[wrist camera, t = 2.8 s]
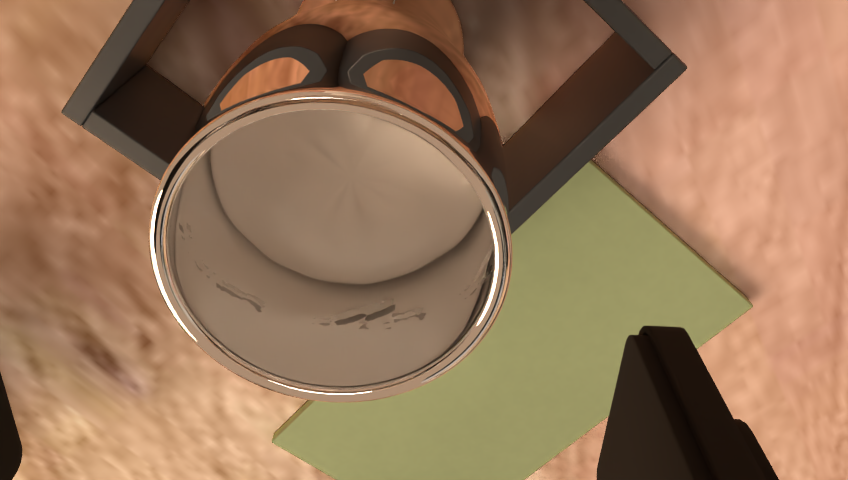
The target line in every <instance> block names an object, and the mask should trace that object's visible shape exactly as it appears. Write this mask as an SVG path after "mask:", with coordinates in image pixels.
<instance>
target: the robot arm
mask: <svg viewBox="0 0 848 480" xmlns="http://www.w3.org/2000/svg"><path fill="white" fill-rule="evenodd" d="M21 458H22V445H21V441H20V438H19V434H18V431H17V428H16V424H15V421H14V417H13V414H12V410H11V407H10V404H9V400H8V397H7V393H6V390H5V386H4V383H3V380H2V376H1V373H0V480H12V479H13V477H14V476H15V474H16V472H17V470H18V468H19V466H20V463H21ZM597 480H779V479H778V477H777V475H776V474H775V472H774V470H773V468H772V466H771V465H770V463H769V461H768V459H767V457H766V456H765V454H764V452H763V450H762V448H761V446H760V445H759V443H758V441H757V439H756V437H755V436H754V434H753V432H752V431H751V429H750V428H749V427H748V425H747V424H746V423H745V422H743V421H741V420H740V419H733V417H732V415H731V413H730V411H729V409H728V407H727V406H726V404H725V402H724V400H723V398H722V396H721V394H720V392H719V391H718V389H717V387H716V385H715V383H714V381H713V379H712V377H711V376H710V374H709V372H708V370H707V368H706V366H705V364H704V362H703V361H702V359H701V357H700V355H699V353H698V351H697V349H696V348H695V346H694V344H693V342H692V340H691V338H690V336H689V334H688V333H687V331H686V330H685V329H684V328H682V327H669V326H643V327H642V328H641V329H640V331H639V334H638V335H629V336H628V338H627V340H626V343H625V347H624V351H623V356H622V360H621V365H620V369H619V373H618V378H617V382H616V387H615V391H614V396H613V400H612V404H611V409H610V413H609V418H608V422H607V427H606V431H605V436H604V440H603V444H602V449H601V453H600V458H599V462H598V467H597Z"/></svg>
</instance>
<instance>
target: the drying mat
mask: <svg viewBox="0 0 848 480" xmlns="http://www.w3.org/2000/svg"><path fill="white" fill-rule="evenodd" d="M511 238H512V249H513V262H512V273H511V279H510V284H509V288H508V292H507V296H506V299H505V301H504V304H503V307H502V309H501V311H500V313H499V315H498V317H497V319H496V321H495V323H494V325H493V326H492V328H491V329H490V331H489V332H488V334H487V335H486V336H485V338H484V339H483V340H482V341H481V343H480V344H479V345H478V346H477V347H476V348H475V349H474V350H473V352H471V353H470V354H469V355H468V356H467V357H466V358H465V359H464V360H463V361H462V362H460V363H459V364H458V365H457V366H455V367H454V368H452V369H451V370H450V371H448V372H447V373H445V374H444V375H442V376H440V377H439V378H437V379H435V380H433V381H431V382H429V383H427V384H425V385H423V386H421V387H418V388H416V389H413V390H411V391H408V392H405V393H402V394H399V395H395V396H391V397H387V398H382V399H377V400H371V401H363V402H321V401H313V400H308V401H307V402H306V403H305V404H304V405H303V406H302V407H301V408H300V409H299V410H298V411H297V412H296V413H295V414H294V415H293V416H292V417H291V418H290V419H289V420H288V421H287V422H285V423H284V424H283V425H282V426H281V427H280V428H279V429H278V430H277V431H276V432H275V433H274V435H273V439H272V443H274V444H276V445H277V446H279V447H281V448H282V449H284V450H286V451H288V452H289V453H291V454H293V455H294V456H296V457H298V458H300V459H301V460H303V461H305V462H306V463H308V464H310V465H312V466H313V467H315V468H317V469H319V470H320V471H322V472H324V473H325V474H327V475H329V476H331V477H332V478H334V479H336V480H525V479H526V478H527V477H528V476H530V475H531V474H532V473H534V472H535V471H536V470H538V469H539V468H540V467H542V466H543V465H544V464H546V463H547V462H548V461H550V460H551V459H552V458H554V457H555V456H556V455H558V454H559V453H560V452H562V451H563V450H564V449H566V448H567V447H568V446H569V445H571V444H572V443H573V442H575V441H576V440H577V439H579V438H580V437H581V436H583V435H584V434H585V433H587V432H588V431H589V430H591V429H592V428H593V427H595V426H596V425H597V424H599V423H600V422H601V421H603V420H604V419H605V418H607V417H608V416H609V413H610V409H611V404H612V400H613V396H614V391H615V387H616V382H617V378H618V373H619V369H620V365H621V360H622V356H623V351H624V347H625V343H626V340H627V338H628V336H629V335H638V334H639V331H640V329H641V328H642V327H643V326H669V327H682V328H684V329H685V330H686V331H687V333H688V334H689V336H690V338H691V340H692V342H693V344H694V346H695V348H696V349H698V348H699V347H700V346H702V345H703V344H704V343H706V342H707V341H708V340H710V339H711V338H712V337H714V336H715V335H716V334H718V333H719V332H720V331H722V330H723V329H724V328H726V327H727V326H728V325H729V324H731V323H732V322H733V321H735V320H736V319H737V318H739V317H740V316H741V315H743V314H744V313H745V312H747V311H748V310H749V309H751V308H752V307H753V305H752V304H751V302H750V301H749V299H748V298H747V297H746V296H744V295H743V294H742V293H741V292H740V291H739V290H738V289H737V288H735V287H734V286H733V285H732V284H731V283H730V282H729V281H727V280H726V279H725V278H724V277H723V276H722V275H721V274H720V273H718V272H717V271H716V270H715V269H714V268H713V267H712V266H711V265H709V264H708V263H707V262H706V261H705V260H704V259H703V258H701V257H700V256H699V255H698V254H697V253H696V252H695V251H694V250H692V249H691V248H690V247H689V246H688V245H687V244H686V243H685V242H683V241H682V240H681V239H680V238H679V237H678V236H677V235H675V234H674V233H673V232H672V231H671V230H670V229H669V228H668V227H666V226H665V225H664V224H663V223H662V222H661V221H660V220H659V219H657V218H656V217H655V216H654V215H653V214H652V213H651V212H649V211H648V210H647V209H646V208H645V207H644V206H643V205H642V204H640V203H639V202H638V201H637V200H636V199H635V198H634V197H633V196H631V195H630V194H629V193H628V192H627V191H626V190H625V189H623V188H622V187H621V186H620V185H619V184H618V183H617V182H616V181H614V180H613V179H612V178H611V177H610V176H609V175H608V174H607V173H605V172H604V171H603V170H602V169H601V168H600V167H599V166H597V165H596V164H595V163H594V162H593V161H592V160H590V161H589V162H588V163H587V164H586V165H585V166H584V167H583V168H582V169H580V170H579V171H578V172H577V173H576V174H575V175H574V176H573V177H572V178H571V179H570V180H569V181H568V182H567V183H566V184H565V185H564V186H562V187H561V188H560V189H559V190H558V191H557V192H556V193H555V194H554V195H553V196H552V197H551V198H550V199H549V200H548V201H547V202H546V203H544V204H543V205H542V206H541V207H540V208H539V209H538V210H537V211H536V212H535V213H534V214H533V215H532V216H531V217H530V218H529V219H528V220H526V221H525V222H524V223H523V224H522V225H521V226H520V227H519V228H518V229H517V230H516V231H515V232H514V233H513V234H512V235H511Z"/></svg>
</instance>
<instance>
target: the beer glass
mask: <svg viewBox="0 0 848 480" xmlns="http://www.w3.org/2000/svg"><path fill="white" fill-rule="evenodd" d="M463 52H464V42H463V32H462V27H461V23H460V20H459V17H458V14H457V12H456V10H455V8H454V6H453V4H452V2H451V0H303V2H302V4H301V6H300V8H299V10H298V13H297V14H296V15H294V16H292V17H291V18H289V19H287V20H285V21H283V22H282V23H280V24H278V25H276V26H275V27H273V28H272V29H270V30H269V31H267V32H266V33H264V34H263V35H262V36H261V37H259V38H258V39H257V40H256V41H255V42H254V43H253V44H252V45H251V46H250V47H249V48H248V49H247V50H246V51H245V52H244V53H243V54H242V55H241V56H240V57H239V58H238V59H237V60H236V61H235V62H234V63H233V64H232V65H231V66H230V68H229V69H228V70H227V71H226V72H225V74H224V75H223V76H222V78H221V79H220V81H219V82H218V84H217V85H216V87H215V88H214V89H213V91H212V92H211V94H210V95H209V97H208V98H207V100H206V101H205V103H204V104H203V106H202V108H201V110H200V111H199V113H198V115H197V117H196V119H195V121H194V123H193V124H192V126H191V128H190V130H189V132H188V134H187V136H186V138H185V140H184V142H183V144H182V146H181V148H180V150H179V152H178V153H177V154H176V156H175V157H174V158H173V160H172V161H171V163H170V164H169V166H168V168H167V169H166V171H165V173H164V175H163V177H162V179H161V181H160V183H159V186H158V188H157V191H156V194H155V197H154V201H153V205H152V209H151V214H150V221H149V251H150V258H151V264H152V268H153V272H154V276H155V279H156V282H157V285H158V287H159V290H160V292H161V295H162V297H163V299H164V301H165V303H166V304H167V306H168V308H169V310H170V311H171V313H172V315H173V316H174V318H175V319H176V321H177V322H178V323H179V325H180V326H181V327H182V329H183V330H184V331H185V332H186V334H187V335H188V336H189V337H190V338H191V339H192V340H193V341H194V342H195V343H196V344H197V345H198V346H199V347H200V348H201V349H202V350H203V351H204V352H205V353H207V354H208V355H209V356H210V357H211V358H213V359H214V360H215V361H217V362H218V363H219V364H221V365H222V366H224V367H225V368H227V369H228V370H230V371H231V372H233V373H235V374H236V375H238V376H240V377H242V378H244V379H246V380H248V381H250V382H252V383H254V384H256V385H259V386H261V387H263V388H266V389H269V390H271V391H274V392H277V393H281V394H284V395H288V396H292V397H296V398H301V399H306V400H313V401H321V402H363V401H371V400H377V399H382V398H387V397H391V396H395V395H399V394H402V393H405V392H408V391H411V390H413V389H416V388H418V387H421V386H423V385H425V384H427V383H429V382H431V381H433V380H435V379H437V378H439V377H440V376H442V375H444V374H445V373H447V372H448V371H450V370H451V369H452V368H454V367H455V366H457V365H458V364H459V363H460V362H462V361H463V360H464V359H465V358H466V357H467V356H468V355H469V354H470V353H471V352H473V350H474V349H475V348H476V347H477V346H478V345H479V344H480V343H481V341H482V340H483V339H484V338H485V336H486V335H487V334H488V332H489V331H490V329H491V328H492V326H493V325H494V323H495V321H496V319H497V317H498V315H499V313H500V311H501V309H502V307H503V304H504V301H505V299H506V296H507V292H508V288H509V284H510V279H511V273H512V262H513V249H512V238H511V232H510V226H509V204H508V186H507V173H506V166H505V159H504V153H503V147H502V141H501V136H500V132H499V128H498V125H497V122H496V119H495V116H494V113H493V110H492V107H491V104H490V101H489V98H488V96H487V93H486V91H485V89H484V87H483V85H482V83H481V81H480V79H479V78H478V76H477V74H476V73H475V71H474V70H473V68H472V67H471V65H470V64H469V63H468V61H467V60H466V58H465V57H464V55H463Z"/></svg>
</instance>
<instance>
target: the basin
mask: <svg viewBox="0 0 848 480" xmlns="http://www.w3.org/2000/svg"><path fill="white" fill-rule="evenodd" d="M584 1H585V2H586V3H587V4H588V5H589V6H590V7H591V8H592V9H593V10H594V11H595V12H596V13H597V14H598V15H599V16H600V17H601V18H602V19H603V20H604V21H605V22H606V23H607V24H608V25H609V26H610V27H611V28H612V29H613V30H614V31H615V33H614V34H613V35H612V36H611V37H610V38H609V39H608V40H607V41H606V42H605V43H604V44H603V45H602V46H601V47H600V48H599V49H598V50H597V51H596V52H595V53H594V54H593V55H592V56H591V57H590V58H589V59H588V60H587V61H586V62H585V63H584V64H583V65H582V66H581V67H580V68H579V69H578V70H577V71H576V72H575V73H574V74H573V75H572V76H571V77H570V78H569V79H568V80H567V82H566V83H565V84H564V85H563V86H562V87H561V88H560V89H559V90H558V91H557V92H556V93H555V94H554V95H553V96H552V97H551V98H550V99H549V100H548V101H547V102H546V103H545V104H544V105H543V106H542V107H541V108H540V109H539V110H538V111H537V112H536V113H535V114H534V115H533V116H532V117H531V118H530V119H529V120H528V121H527V122H526V123H525V124H524V125H523V126H522V127H521V128H520V129H519V130H518V131H517V132H516V133H515V134H514V135H513V136H512V137H511V138H510V139H509V140H508V141H507V142H506V143H505V144H504V146H503V153H504V159H505V166H506V173H507V186H508V204H509V226H510V232H511V235H512V234H513V233H514V232H515V231H516V230H517V229H518V228H519V227H520V226H521V225H522V224H523V223H524V222H525V221H526V220H528V219H529V218H530V217H531V216H532V215H533V214H534V213H535V212H536V211H537V210H538V209H539V208H540V207H541V206H542V205H543V204H544V203H546V202H547V201H548V200H549V199H550V198H551V197H552V196H553V195H554V194H555V193H556V192H557V191H558V190H559V189H560V188H561V187H562V186H564V185H565V184H566V183H567V182H568V181H569V180H570V179H571V178H572V177H573V176H574V175H575V174H576V173H577V172H578V171H579V170H580V169H582V168H583V167H584V166H585V165H586V164H587V163H588V162H589V161H590V160H591V159H592V158H593V157H594V156H595V155H596V154H597V153H598V152H600V151H601V150H602V149H603V148H604V147H605V146H606V145H607V144H608V143H609V142H610V141H611V140H612V139H613V138H614V137H615V136H616V135H618V134H619V133H620V132H621V131H622V130H623V129H624V128H625V127H626V126H627V125H628V124H629V123H630V122H631V121H632V120H633V119H634V118H636V117H637V116H638V115H639V114H640V113H641V112H642V111H643V110H644V109H645V108H646V107H647V106H648V105H649V104H650V103H651V102H652V101H654V100H655V99H656V98H657V97H658V96H659V95H660V94H661V93H662V92H663V91H664V90H665V89H666V88H667V87H668V86H669V85H670V84H672V83H673V82H674V81H675V80H676V79H677V78H678V77H679V76H680V75H681V74H682V73H683V72H684V71H685V70H686V69H687V66H686V65H685V64H684V63H683V62H682V61H681V60H680V59H679V58H678V57H677V56H676V55H675V54H674V53H673V52H672V51H671V50H670V49H669V48H668V47H667V46H666V45H665V44H664V43H663V42H662V41H661V40H660V39H659V38H658V37H657V36H656V35H655V34H654V33H653V32H652V31H651V30H650V29H649V28H648V27H647V26H646V25H645V24H644V23H643V22H642V21H641V19H640V18H639V17H638V16H637V15H636V14H635V13H634V12H633V11H632V10H631V9H630V8H629V7H628V6H627V5H626V4H625V3H624V2H623V1H622V0H584ZM188 2H189V0H133V1H132V3H131V4H130V6H129V7H128V9H127V10H126V12H125V13H124V15H123V17H122V18H121V20H120V21H119V23H118V24H117V26H116V27H115V29H114V31H113V32H112V34H111V35H110V37H109V38H108V40H107V41H106V43H105V44H104V46H103V48H102V49H101V51H100V52H99V54H98V55H97V57H96V58H95V60H94V62H93V63H92V65H91V66H90V68H89V69H88V71H87V72H86V74H85V75H84V77H83V79H82V80H81V82H80V83H79V85H78V86H77V88H76V89H75V91H74V93H73V94H72V96H71V97H70V99H69V100H68V102H67V103H66V105H65V106H64V108H63V110H62V112H61V113H62V114H64V115H65V116H67V117H68V118H70V119H71V120H73V121H74V122H75V123H77V124H78V125H80V126H82V125H83V126H82V127H83V128H84V129H86V130H87V131H89V132H90V133H92V134H93V135H95V136H96V137H98V138H99V139H101V140H102V141H103V142H105V143H106V144H108V145H109V146H111V147H112V148H114V149H115V150H117V151H118V152H120V153H121V154H123V155H124V156H125V157H127V158H128V159H130V160H131V161H133V162H134V163H136V164H137V165H139V166H140V167H142V168H143V169H145V170H146V171H148V172H149V173H150V174H152V175H153V176H155V177H156V178H158V179H159V180H161V179H162V177H163V175H164V173H165V171H166V169H167V168H168V166H169V164H170V163H171V161H172V160H173V158H174V157H175V156H176V154H177V153H178V152H179V150H180V148H181V146H182V144H183V142H184V140H185V138H186V136H187V134H188V132H189V130H190V128H191V126H192V124H193V123H194V121H195V119H196V117H197V115H198V113H199V111H200V110H201V108H202V105H201V104H199V103H198V102H197V101H195V100H194V99H193V98H191V97H190V96H189V95H187V94H186V93H184V92H183V91H182V90H180V89H179V88H178V87H176V86H175V85H174V84H172V83H171V82H169V81H168V80H167V79H165V78H164V77H163V76H161V75H160V74H159V73H157V72H156V71H154V70H153V69H152V68H150V67H149V66H148V65H146V63H147V62H148V61H149V59H150V58H151V56H152V55H153V53H154V52H155V50H156V49H157V47H158V46H159V44H160V43H161V41H162V40H163V39H164V37H165V36H166V34H167V33H168V31H169V30H170V28H171V27H172V25H173V24H174V22H175V21H176V20H177V18H178V17H179V15H180V14H181V12H182V11H183V9H184V8H185V6H186V5H187V3H188Z"/></svg>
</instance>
